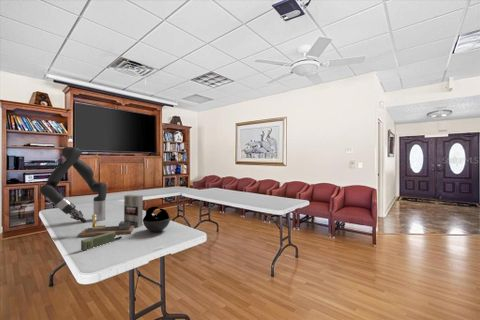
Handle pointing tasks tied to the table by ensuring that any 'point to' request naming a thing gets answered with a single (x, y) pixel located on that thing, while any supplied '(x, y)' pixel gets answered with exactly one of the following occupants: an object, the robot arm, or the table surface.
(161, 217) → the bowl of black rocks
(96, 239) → the handheld radio
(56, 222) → the table surface
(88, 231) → the wooden track base
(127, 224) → the steel keeper
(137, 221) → the cassette tape recorder
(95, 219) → the brass bolt
